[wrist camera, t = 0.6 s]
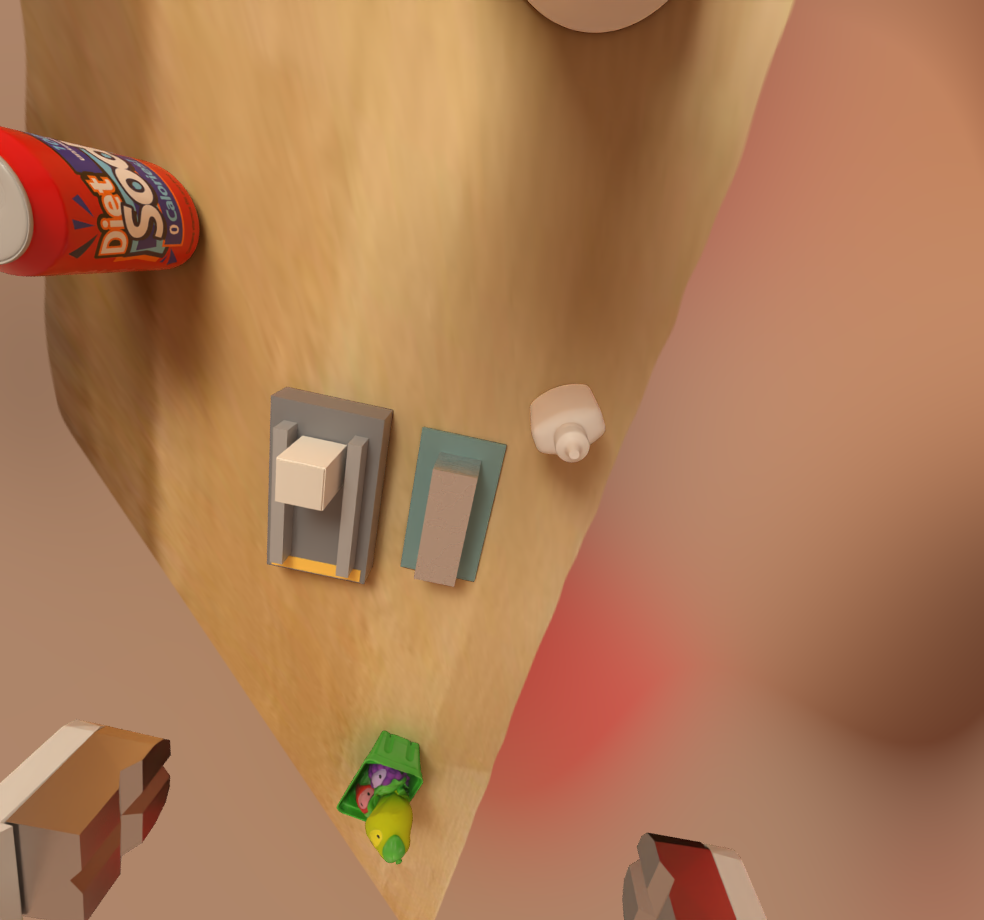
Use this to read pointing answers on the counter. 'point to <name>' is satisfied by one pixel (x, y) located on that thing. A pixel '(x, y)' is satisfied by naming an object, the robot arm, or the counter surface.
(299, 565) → the switch panel
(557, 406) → the eye dropper bottle
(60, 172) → the soda can
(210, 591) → the counter surface
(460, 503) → the bar
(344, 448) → the switch tab
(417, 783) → the fruit basket
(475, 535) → the mat
